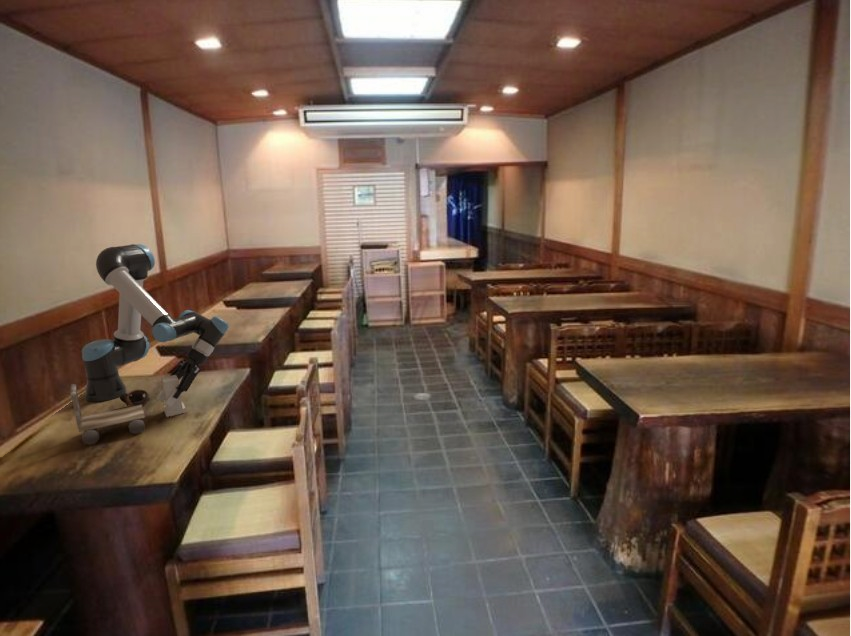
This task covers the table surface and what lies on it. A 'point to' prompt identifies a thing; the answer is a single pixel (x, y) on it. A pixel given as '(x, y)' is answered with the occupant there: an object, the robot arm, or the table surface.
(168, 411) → the grey pillar on base
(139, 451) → the table surface
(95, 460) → the table surface
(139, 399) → the broken clay pot
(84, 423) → the trolley
